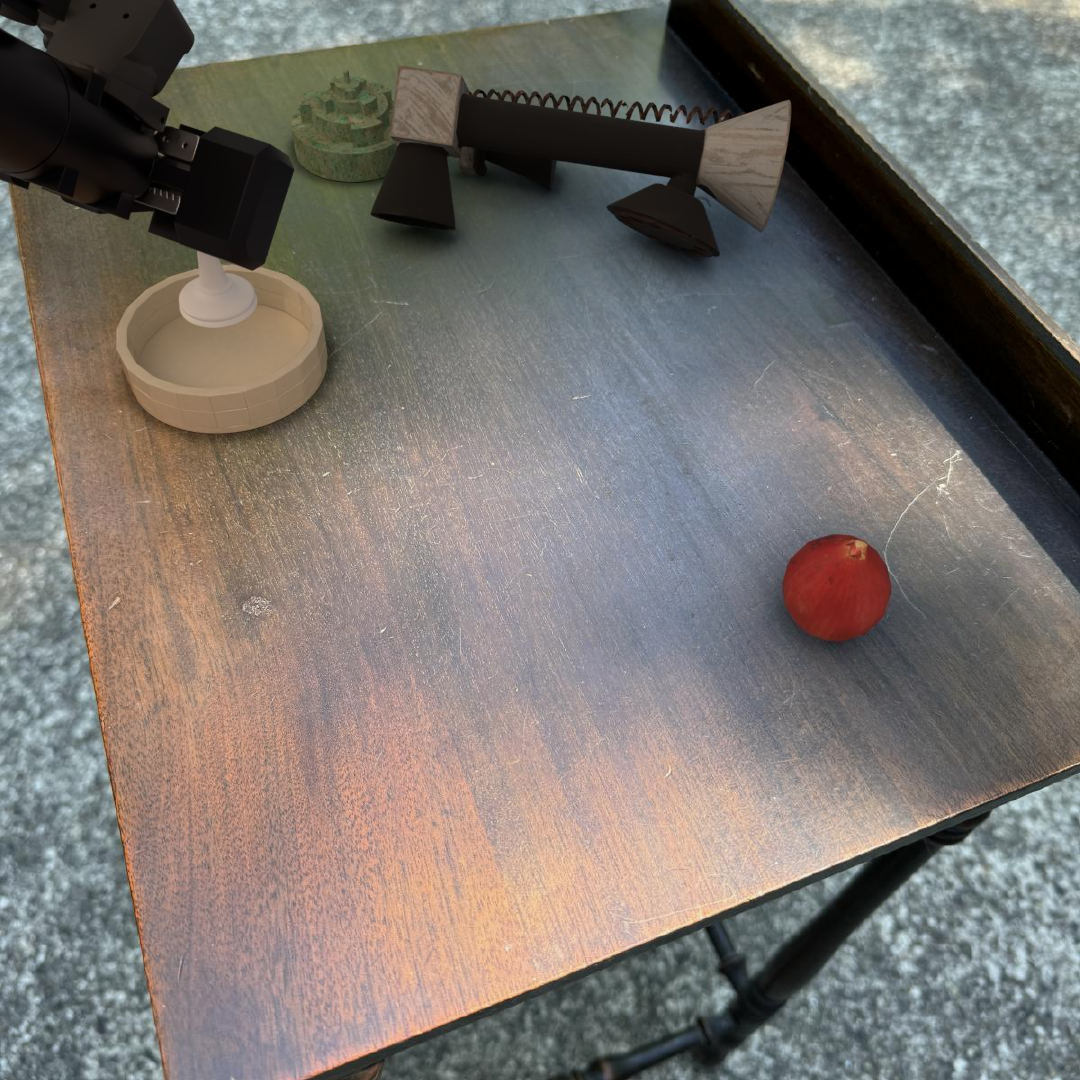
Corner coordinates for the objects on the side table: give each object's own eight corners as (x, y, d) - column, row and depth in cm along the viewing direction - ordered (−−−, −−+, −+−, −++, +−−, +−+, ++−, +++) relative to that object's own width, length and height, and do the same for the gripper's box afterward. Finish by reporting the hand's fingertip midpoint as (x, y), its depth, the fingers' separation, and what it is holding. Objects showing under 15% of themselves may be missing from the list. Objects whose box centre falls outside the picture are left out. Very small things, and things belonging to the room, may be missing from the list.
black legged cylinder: (736, 285, 88) (397, 232, 89) (764, 133, 86) (416, 81, 87) (764, 268, 73) (357, 206, 74) (798, 84, 71) (378, 22, 72)
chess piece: (165, 319, 65) (124, 177, 57) (201, 274, 68) (167, 134, 60) (237, 335, 64) (205, 194, 57) (270, 289, 67) (244, 149, 60)
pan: (130, 447, 66) (115, 407, 63) (130, 315, 74) (116, 275, 71) (338, 419, 68) (332, 380, 66) (316, 294, 76) (310, 255, 73)
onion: (751, 599, 61) (783, 513, 54) (834, 574, 62) (875, 488, 56) (800, 679, 57) (840, 597, 51) (886, 651, 59) (935, 568, 53)
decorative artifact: (320, 112, 92) (277, 170, 86) (311, 33, 87) (263, 90, 81) (426, 130, 91) (389, 191, 85) (423, 53, 86) (384, 111, 80)
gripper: (239, -17, 44) (387, 115, 59) (-90, -110, 48) (126, 35, 63) (163, 234, 45) (326, 300, 60) (-150, 122, 49) (75, 210, 65)
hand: (211, 204), depth 62 cm, fingers closed on chess piece
